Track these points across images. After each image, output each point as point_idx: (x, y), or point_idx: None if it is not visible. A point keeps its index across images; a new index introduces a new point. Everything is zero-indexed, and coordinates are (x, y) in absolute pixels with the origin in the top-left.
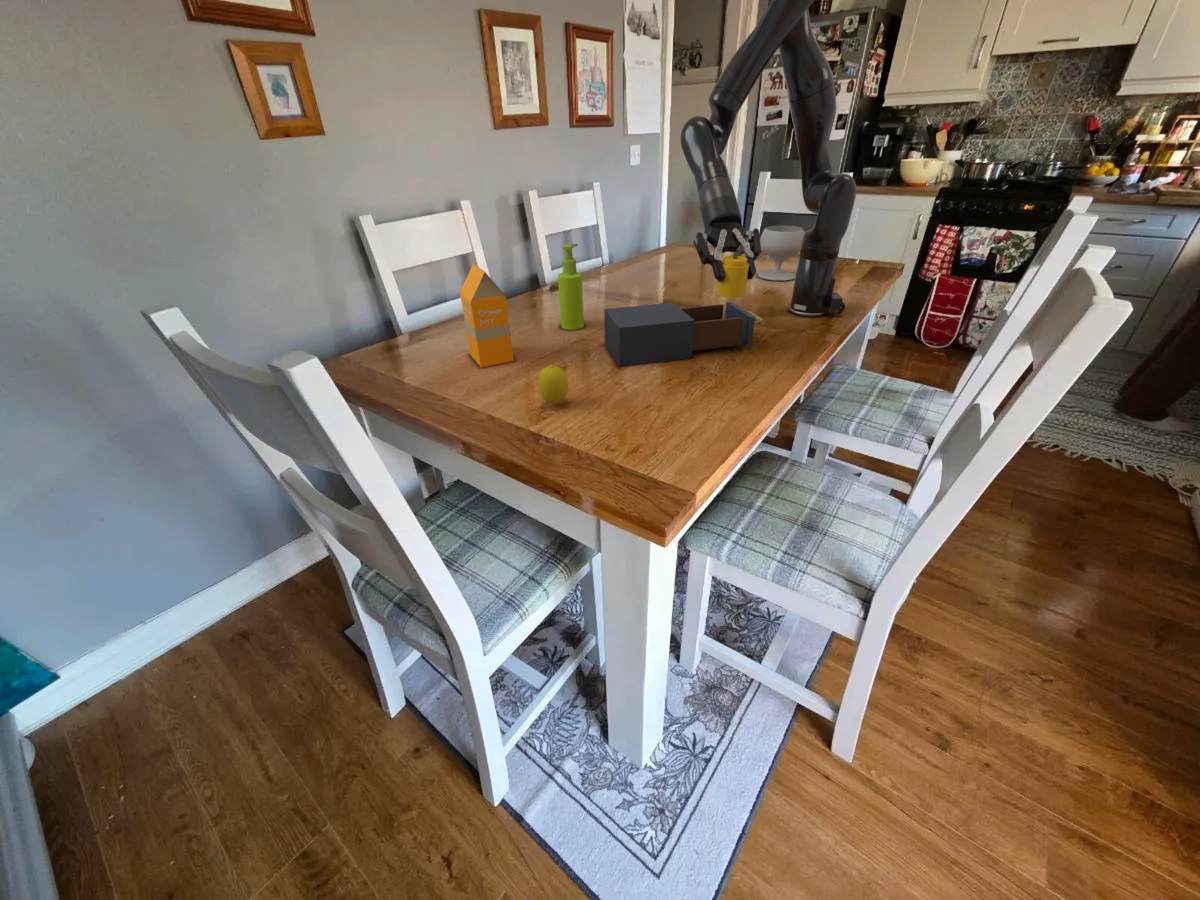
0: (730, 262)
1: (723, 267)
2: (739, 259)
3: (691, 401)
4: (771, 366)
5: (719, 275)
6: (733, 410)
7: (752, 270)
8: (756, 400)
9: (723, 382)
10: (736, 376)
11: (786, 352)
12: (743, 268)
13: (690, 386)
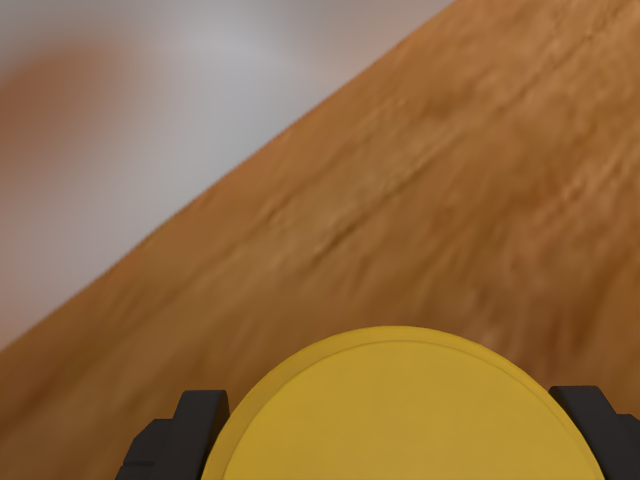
0: (530, 397)
1: (591, 461)
2: (365, 453)
3: (628, 126)
4: (220, 325)
5: (618, 416)
6: (506, 54)
7: (198, 409)
8: (411, 92)
9: (473, 232)
10: (403, 269)
11: (61, 459)
12: (350, 334)
13: (610, 229)
